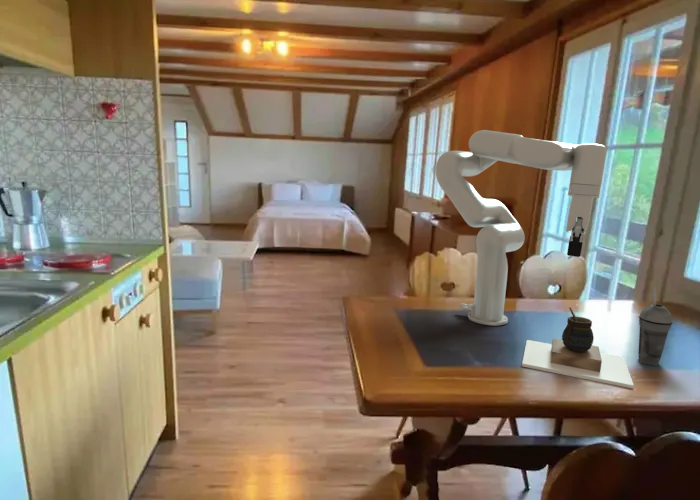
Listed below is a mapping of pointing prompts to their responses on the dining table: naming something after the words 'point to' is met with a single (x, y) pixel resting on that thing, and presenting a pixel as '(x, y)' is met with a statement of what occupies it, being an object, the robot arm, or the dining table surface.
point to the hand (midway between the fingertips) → (573, 253)
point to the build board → (610, 372)
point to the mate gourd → (578, 334)
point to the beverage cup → (653, 332)
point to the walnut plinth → (576, 357)
